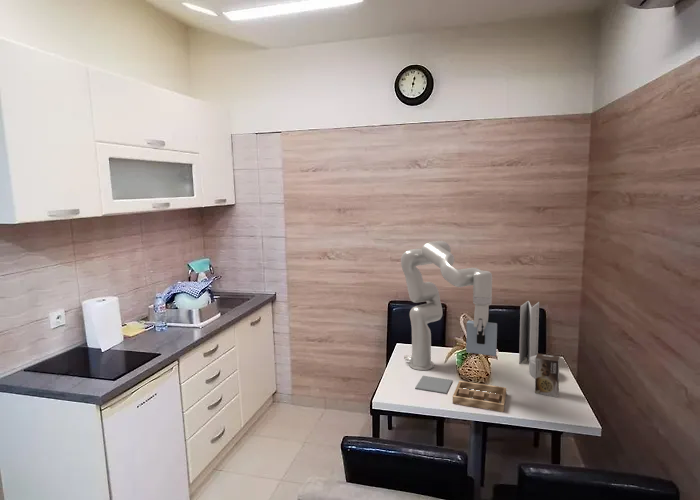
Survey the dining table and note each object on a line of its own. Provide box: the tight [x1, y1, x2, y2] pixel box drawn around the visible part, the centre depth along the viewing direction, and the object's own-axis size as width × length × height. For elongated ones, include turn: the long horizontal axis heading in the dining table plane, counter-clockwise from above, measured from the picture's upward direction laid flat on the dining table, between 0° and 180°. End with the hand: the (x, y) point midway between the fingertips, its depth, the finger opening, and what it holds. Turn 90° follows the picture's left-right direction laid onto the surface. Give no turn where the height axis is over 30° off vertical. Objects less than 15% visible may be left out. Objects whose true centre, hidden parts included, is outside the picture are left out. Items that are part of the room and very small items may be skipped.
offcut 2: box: [472, 391, 485, 401], centre depth 176 cm, size 4×4×4 cm
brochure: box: [518, 300, 540, 364], centre depth 218 cm, size 14×6×30 cm, turn 143°
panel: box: [465, 320, 498, 357], centre depth 180 cm, size 12×4×13 cm, turn 66°
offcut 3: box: [487, 393, 501, 403], centre depth 173 cm, size 4×4×4 cm
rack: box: [452, 380, 507, 413], centre depth 179 cm, size 20×16×3 cm
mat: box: [414, 375, 453, 395], centre depth 193 cm, size 14×14×1 cm
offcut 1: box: [458, 389, 471, 398], centre depth 178 cm, size 4×4×4 cm
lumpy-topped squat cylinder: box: [528, 355, 537, 379], centre depth 200 cm, size 10×13×9 cm
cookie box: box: [534, 352, 560, 398], centre depth 182 cm, size 9×6×16 cm
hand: (481, 341), depth 180 cm, fingers closed on panel, 4 cm apart
